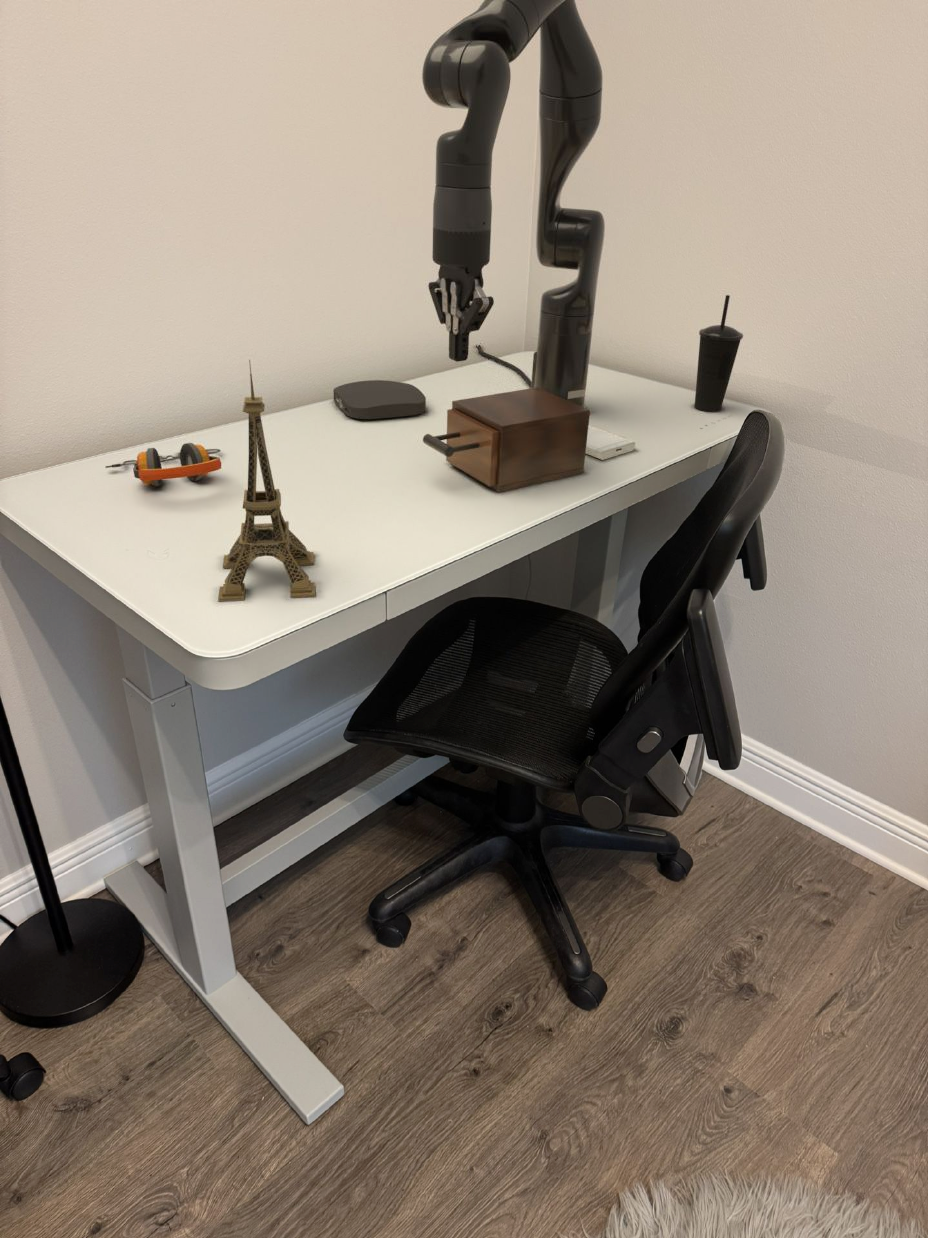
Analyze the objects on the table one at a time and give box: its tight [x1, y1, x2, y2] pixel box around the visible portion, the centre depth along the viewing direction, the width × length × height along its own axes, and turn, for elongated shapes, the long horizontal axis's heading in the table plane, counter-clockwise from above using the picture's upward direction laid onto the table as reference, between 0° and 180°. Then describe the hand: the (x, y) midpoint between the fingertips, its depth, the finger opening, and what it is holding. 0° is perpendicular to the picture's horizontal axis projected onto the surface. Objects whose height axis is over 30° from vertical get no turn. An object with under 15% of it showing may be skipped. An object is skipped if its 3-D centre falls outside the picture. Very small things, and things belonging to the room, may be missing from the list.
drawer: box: [422, 408, 499, 487], centre depth 131 cm, size 20×12×8 cm, turn 123°
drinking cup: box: [694, 294, 744, 413], centre depth 161 cm, size 8×8×20 cm
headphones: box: [104, 442, 222, 487], centre depth 126 cm, size 17×5×20 cm
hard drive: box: [585, 424, 636, 461], centre depth 146 cm, size 2×8×12 cm
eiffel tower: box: [217, 359, 316, 602], centre depth 97 cm, size 11×11×25 cm
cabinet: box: [449, 387, 591, 493], centre depth 133 cm, size 16×13×10 cm
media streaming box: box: [333, 379, 427, 420], centre depth 159 cm, size 15×15×3 cm
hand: (458, 359), depth 124 cm, fingers closed
